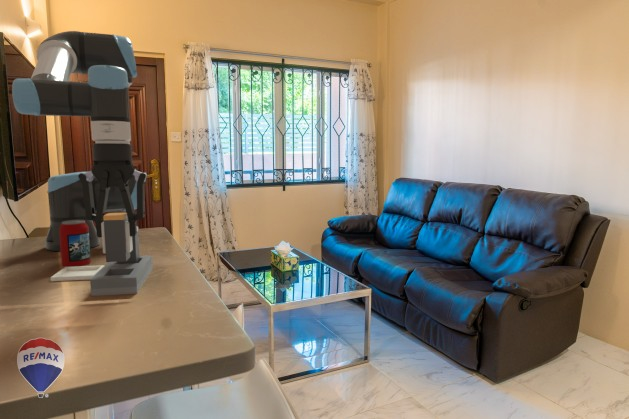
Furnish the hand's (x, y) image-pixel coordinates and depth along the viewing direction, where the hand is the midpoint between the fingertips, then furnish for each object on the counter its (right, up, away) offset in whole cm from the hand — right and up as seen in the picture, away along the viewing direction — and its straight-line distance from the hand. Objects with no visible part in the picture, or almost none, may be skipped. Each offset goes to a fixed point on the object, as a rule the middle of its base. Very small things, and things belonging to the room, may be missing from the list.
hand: (118, 251), depth 96 cm
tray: (-14, -7, +11) cm, 19 cm away
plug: (0, -2, 0) cm, 2 cm away
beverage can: (-20, -6, +21) cm, 30 cm away
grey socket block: (-1, -8, +6) cm, 10 cm away
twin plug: (-2, -5, +11) cm, 12 cm away
